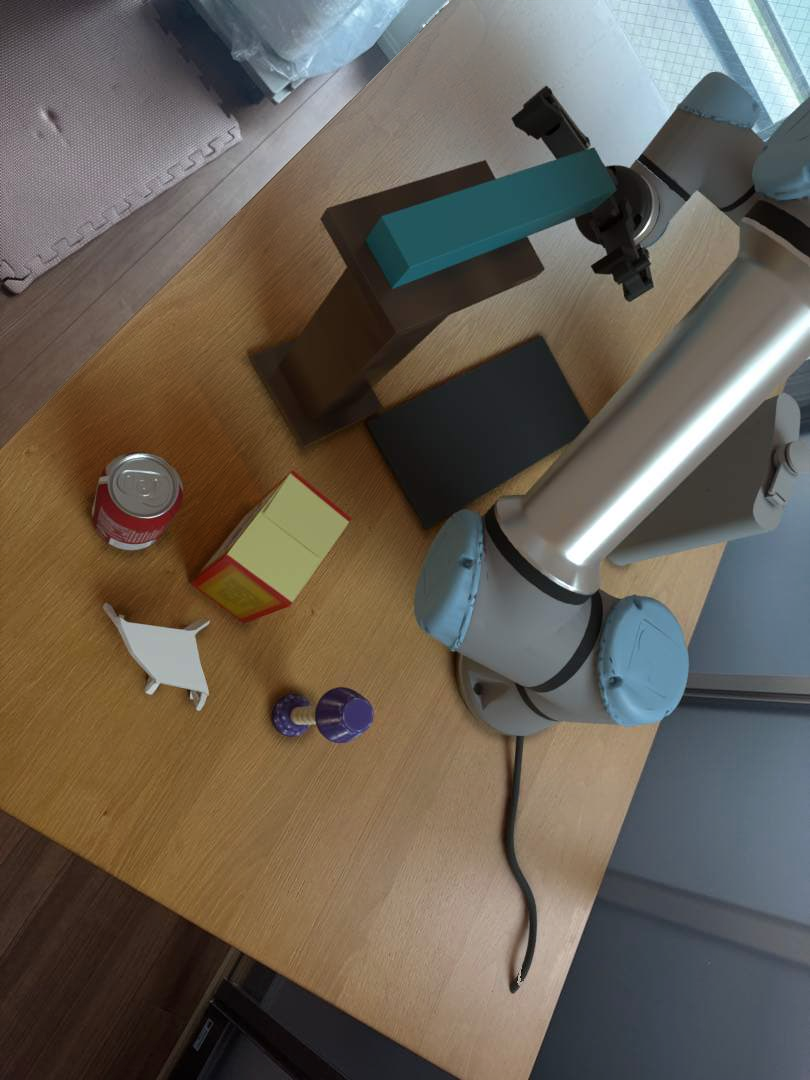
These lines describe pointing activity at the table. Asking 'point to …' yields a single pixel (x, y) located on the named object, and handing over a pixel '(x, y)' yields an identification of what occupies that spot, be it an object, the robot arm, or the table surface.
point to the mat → (478, 430)
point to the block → (487, 216)
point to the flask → (728, 488)
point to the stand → (378, 312)
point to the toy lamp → (324, 715)
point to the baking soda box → (272, 550)
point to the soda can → (136, 500)
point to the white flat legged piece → (165, 654)
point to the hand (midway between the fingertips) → (567, 185)
